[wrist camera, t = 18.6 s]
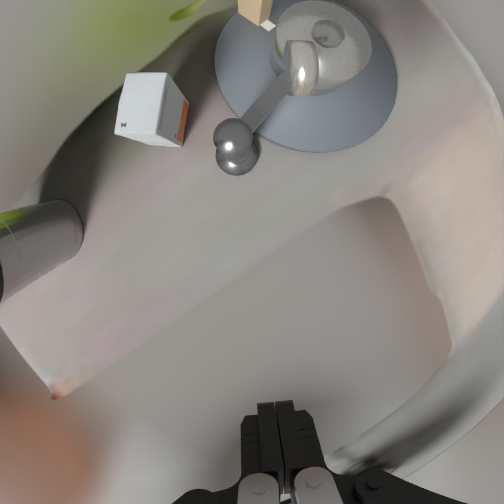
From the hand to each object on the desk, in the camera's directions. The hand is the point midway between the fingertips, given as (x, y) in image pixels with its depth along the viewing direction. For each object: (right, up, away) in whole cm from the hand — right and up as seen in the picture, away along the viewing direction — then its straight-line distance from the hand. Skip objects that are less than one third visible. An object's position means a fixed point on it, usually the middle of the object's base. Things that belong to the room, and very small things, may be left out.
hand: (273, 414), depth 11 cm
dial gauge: (-1, +21, +22) cm, 31 cm away
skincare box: (-11, +23, +21) cm, 33 cm away
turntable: (+7, +31, +20) cm, 37 cm away
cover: (+6, +30, +18) cm, 36 cm away
